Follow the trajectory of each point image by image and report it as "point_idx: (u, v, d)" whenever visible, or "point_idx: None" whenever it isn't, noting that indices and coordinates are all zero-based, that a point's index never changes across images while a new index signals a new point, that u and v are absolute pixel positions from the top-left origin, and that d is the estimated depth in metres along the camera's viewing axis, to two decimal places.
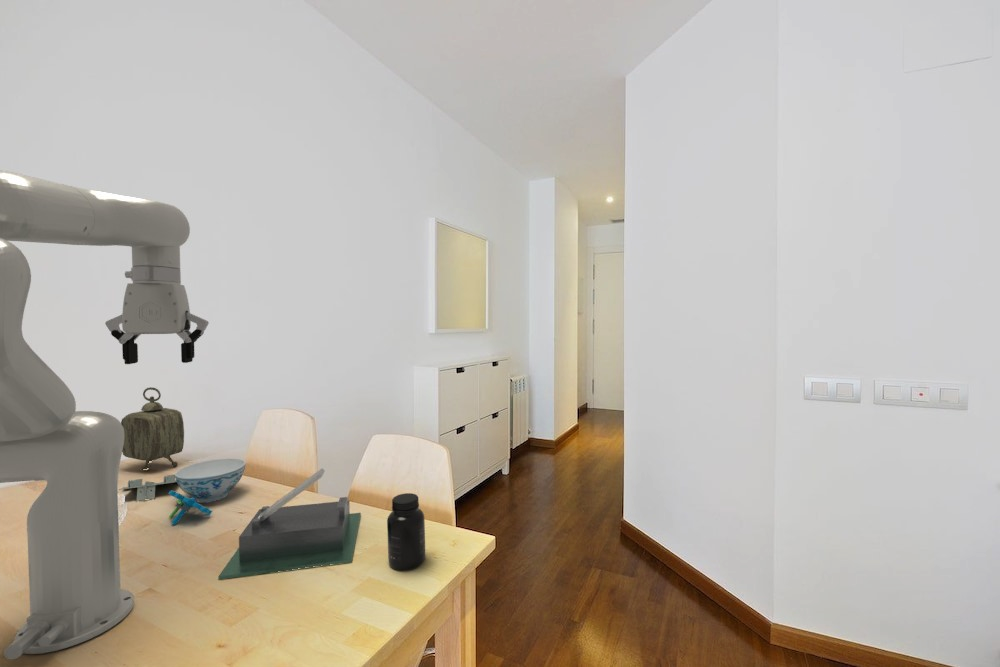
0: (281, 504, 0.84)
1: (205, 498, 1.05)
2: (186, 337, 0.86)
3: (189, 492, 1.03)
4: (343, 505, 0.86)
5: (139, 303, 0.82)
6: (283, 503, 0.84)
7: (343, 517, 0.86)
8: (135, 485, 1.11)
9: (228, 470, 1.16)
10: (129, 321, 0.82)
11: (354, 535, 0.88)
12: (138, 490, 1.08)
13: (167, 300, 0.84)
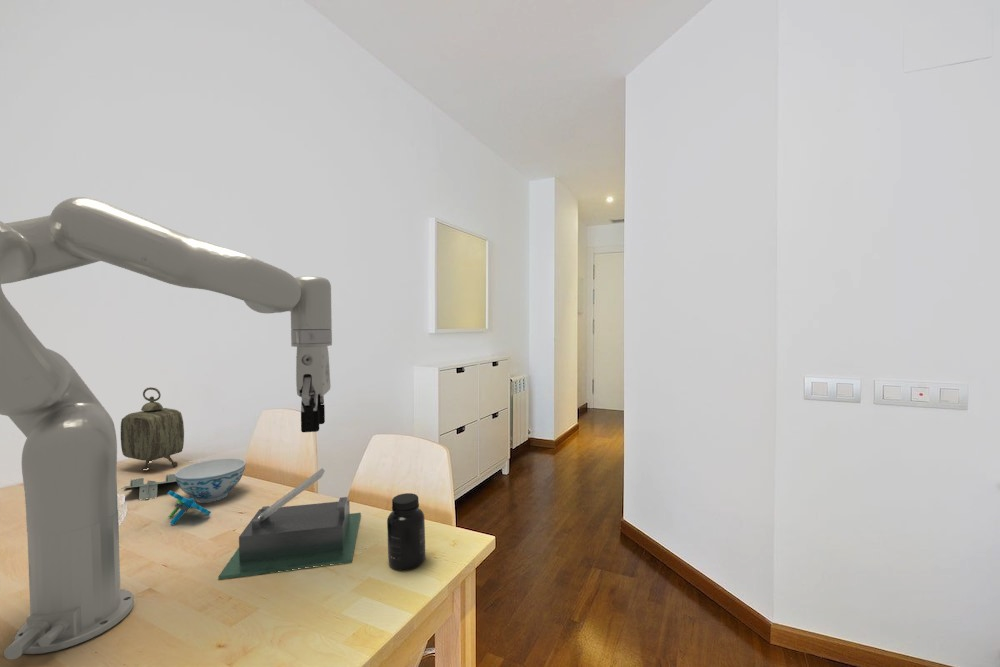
0: (281, 504, 0.84)
1: (205, 498, 1.05)
2: (323, 398, 0.90)
3: (189, 492, 1.03)
4: (343, 505, 0.86)
5: (325, 365, 0.85)
6: (283, 503, 0.84)
7: (343, 517, 0.86)
8: (137, 484, 1.11)
9: (228, 470, 1.16)
10: (323, 383, 0.83)
11: (354, 535, 0.88)
12: (140, 489, 1.08)
13: (328, 360, 0.89)
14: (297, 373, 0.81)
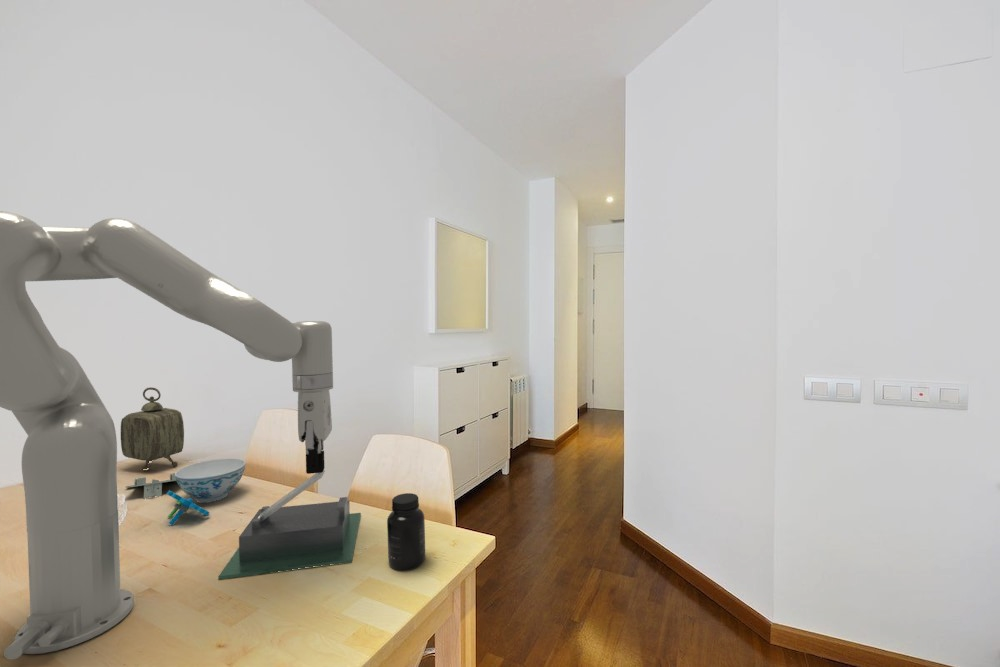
0: (281, 504, 0.84)
1: (205, 498, 1.05)
2: (322, 444, 0.88)
3: (189, 492, 1.03)
4: (343, 505, 0.86)
5: (327, 409, 0.85)
6: (283, 503, 0.84)
7: (343, 517, 0.86)
8: (140, 483, 1.12)
9: (228, 470, 1.16)
10: (325, 428, 0.84)
11: (354, 535, 0.88)
12: (145, 488, 1.09)
13: None
14: (299, 419, 0.81)
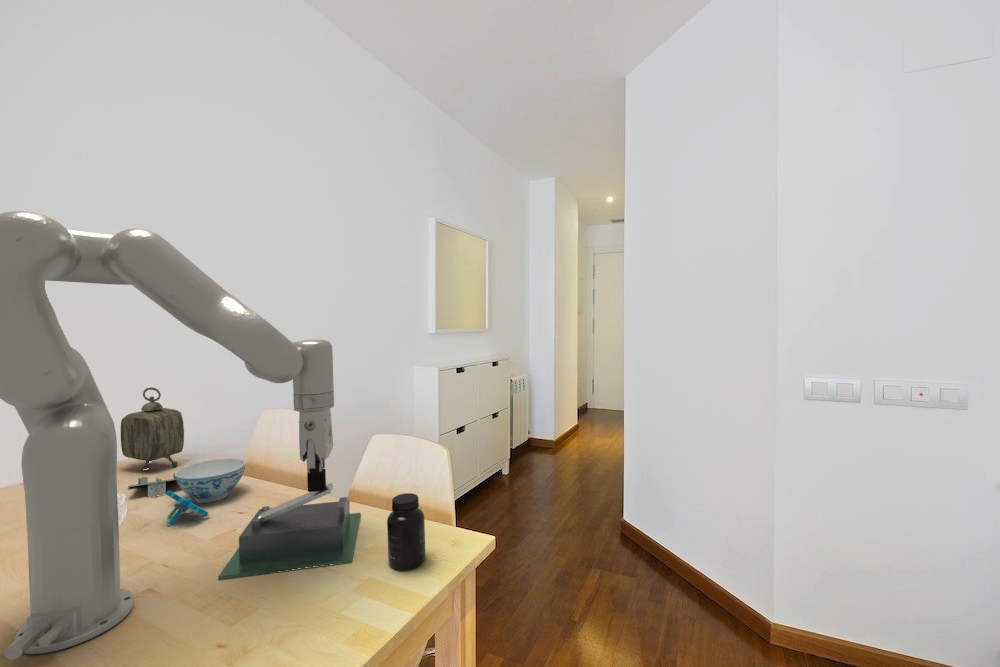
0: (285, 510, 0.84)
1: (205, 498, 1.05)
2: (324, 462, 0.89)
3: (189, 492, 1.03)
4: (343, 505, 0.86)
5: (328, 427, 0.86)
6: (287, 509, 0.84)
7: (343, 517, 0.86)
8: (143, 482, 1.12)
9: (228, 470, 1.16)
10: (326, 447, 0.84)
11: (354, 535, 0.88)
12: (149, 487, 1.10)
13: None
14: (300, 439, 0.82)
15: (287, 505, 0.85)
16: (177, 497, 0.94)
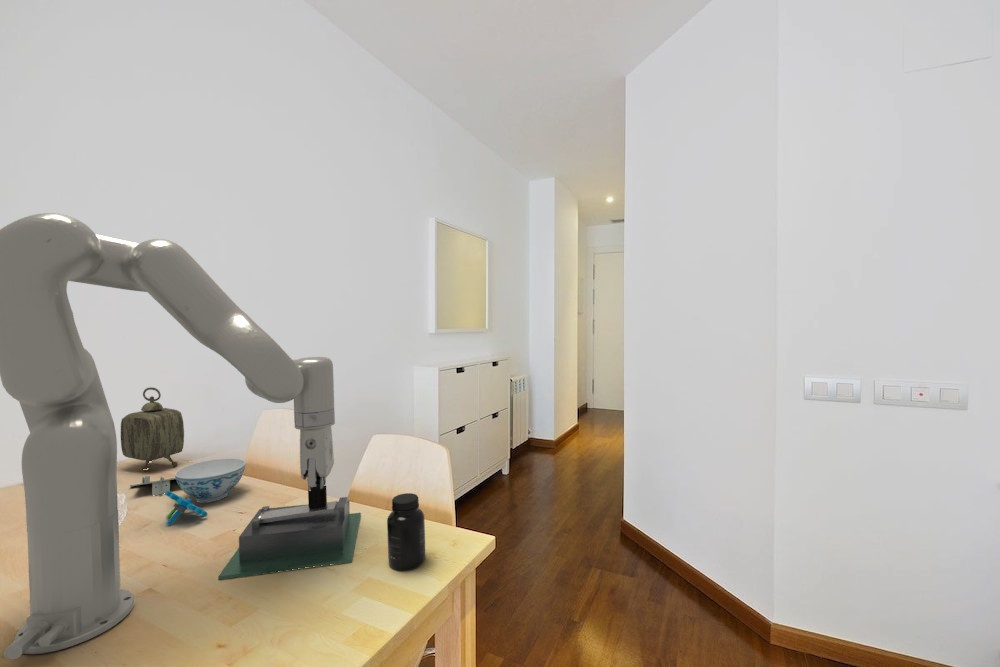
0: (286, 517, 0.84)
1: (205, 498, 1.05)
2: (325, 479, 0.89)
3: (189, 492, 1.03)
4: (343, 505, 0.86)
5: (328, 445, 0.86)
6: (289, 517, 0.84)
7: (343, 517, 0.86)
8: (147, 481, 1.13)
9: (228, 470, 1.16)
10: (327, 465, 0.84)
11: (354, 535, 0.88)
12: (153, 485, 1.11)
13: None
14: (301, 457, 0.82)
15: (289, 512, 0.85)
16: (176, 497, 0.94)
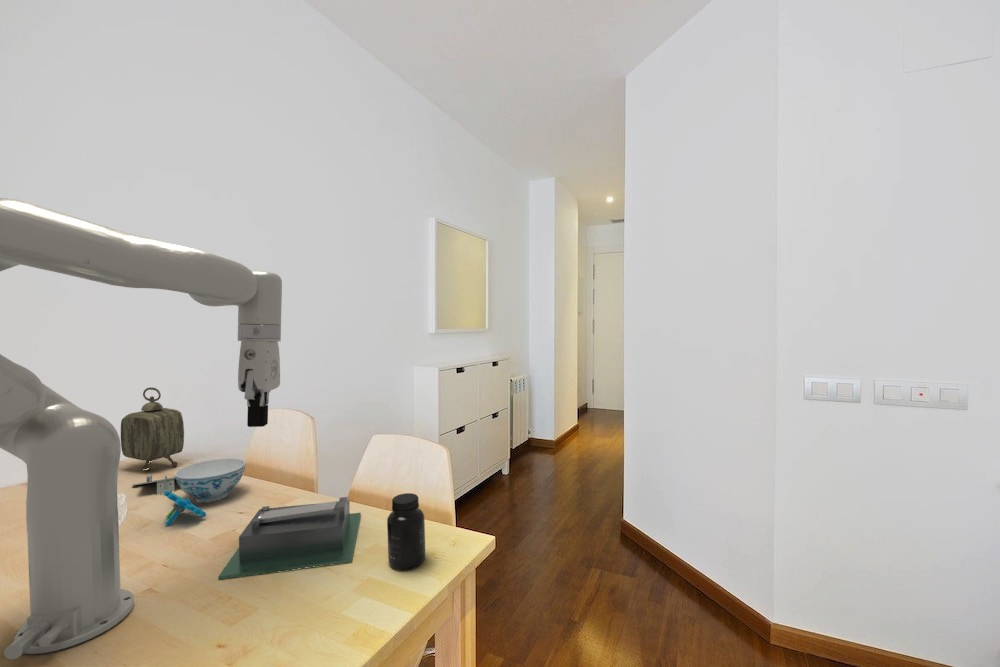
0: (286, 517, 0.84)
1: (205, 498, 1.05)
2: (267, 399, 0.87)
3: (189, 492, 1.03)
4: (343, 505, 0.86)
5: (271, 361, 0.84)
6: (289, 517, 0.84)
7: (343, 517, 0.86)
8: (150, 480, 1.14)
9: (228, 470, 1.16)
10: (267, 379, 0.82)
11: (354, 535, 0.88)
12: (158, 484, 1.12)
13: (278, 356, 0.88)
14: (239, 367, 0.80)
15: (290, 512, 0.85)
16: (174, 498, 0.94)
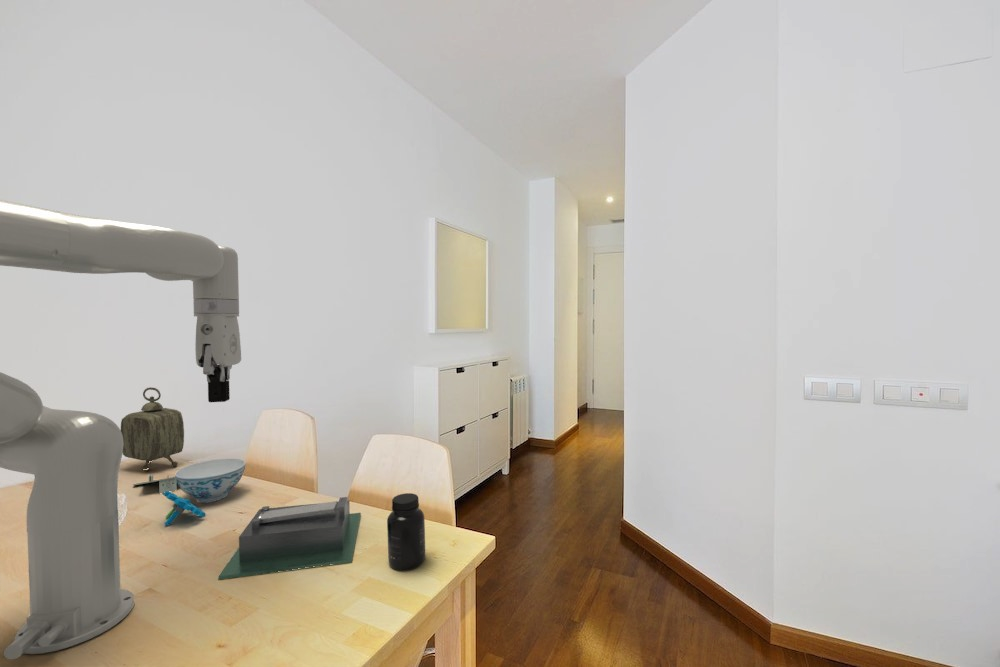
0: (286, 517, 0.84)
1: (205, 498, 1.05)
2: (228, 374, 0.87)
3: (189, 492, 1.03)
4: (343, 505, 0.86)
5: (229, 336, 0.84)
6: (289, 517, 0.84)
7: (343, 517, 0.86)
8: (152, 480, 1.14)
9: (228, 470, 1.16)
10: (226, 354, 0.82)
11: (354, 535, 0.88)
12: (160, 483, 1.12)
13: (238, 332, 0.88)
14: (196, 342, 0.80)
15: (290, 512, 0.85)
16: (173, 498, 0.93)
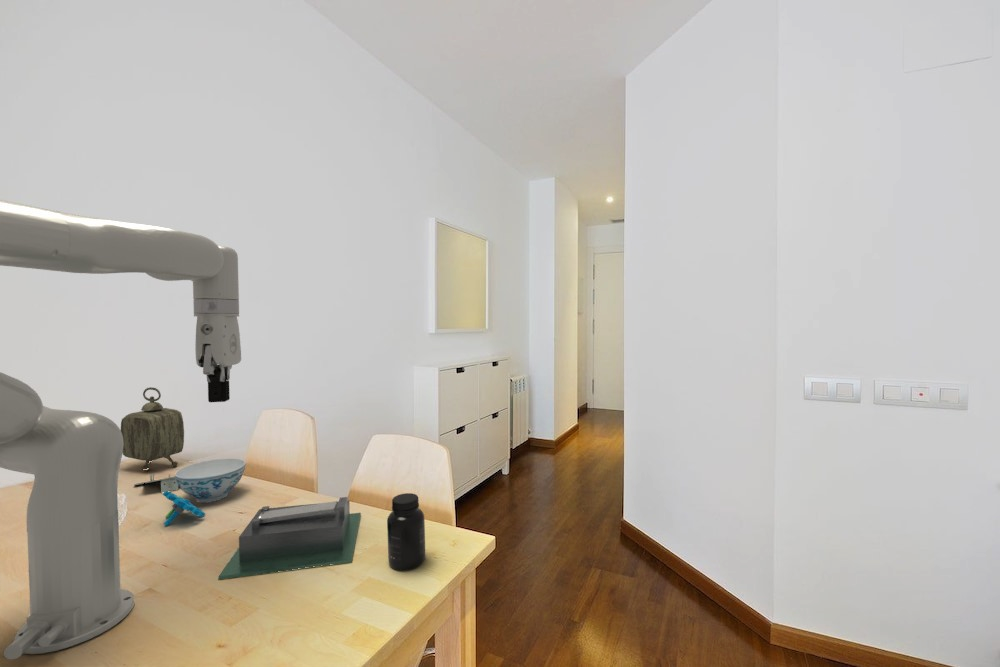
0: (286, 517, 0.84)
1: (205, 498, 1.05)
2: (228, 374, 0.87)
3: (189, 492, 1.03)
4: (343, 505, 0.86)
5: (229, 336, 0.84)
6: (289, 517, 0.84)
7: (343, 517, 0.86)
8: None
9: (228, 470, 1.16)
10: (226, 354, 0.82)
11: (354, 535, 0.88)
12: (162, 483, 1.12)
13: (238, 332, 0.88)
14: (196, 342, 0.80)
15: (290, 512, 0.85)
16: (173, 498, 0.93)
